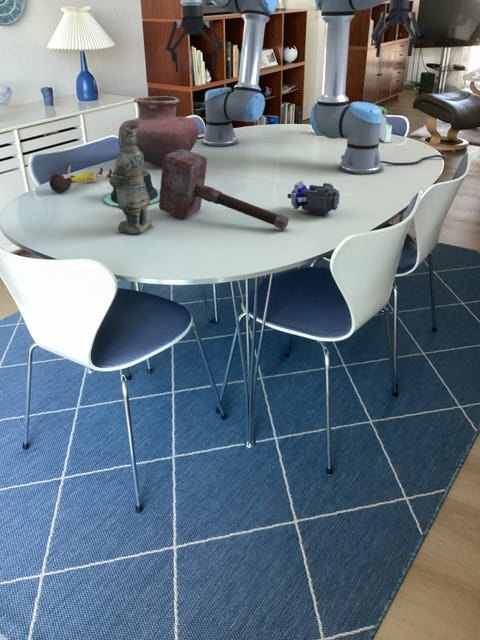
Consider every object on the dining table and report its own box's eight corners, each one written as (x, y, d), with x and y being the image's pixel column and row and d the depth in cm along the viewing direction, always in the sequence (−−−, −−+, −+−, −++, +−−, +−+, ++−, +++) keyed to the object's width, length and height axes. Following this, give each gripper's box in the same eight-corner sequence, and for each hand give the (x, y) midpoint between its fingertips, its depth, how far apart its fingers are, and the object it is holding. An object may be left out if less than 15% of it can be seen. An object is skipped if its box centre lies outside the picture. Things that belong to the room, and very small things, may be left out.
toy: (295, 178, 172) (342, 184, 166) (295, 205, 177) (340, 211, 171) (285, 186, 166) (333, 192, 160) (284, 213, 170) (331, 220, 164)
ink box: (383, 137, 256) (387, 105, 249) (390, 142, 248) (394, 109, 241) (376, 137, 256) (379, 105, 249) (383, 143, 247) (386, 109, 240)
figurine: (118, 166, 204) (64, 174, 185) (119, 186, 207) (65, 196, 188) (93, 161, 211) (38, 168, 191) (95, 181, 214) (40, 190, 195)
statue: (131, 220, 168) (117, 116, 152) (158, 224, 164) (147, 118, 149) (109, 233, 159) (93, 124, 144) (138, 237, 156) (124, 126, 140)
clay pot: (207, 155, 234) (203, 91, 222) (188, 175, 209) (184, 105, 196) (138, 153, 239) (131, 91, 226) (112, 172, 214) (103, 104, 201)
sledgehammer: (299, 190, 156) (179, 147, 167) (285, 200, 148) (161, 154, 160) (286, 244, 166) (174, 200, 177) (272, 256, 158) (156, 209, 170)
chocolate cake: (91, 202, 180) (113, 186, 197) (142, 231, 182) (160, 212, 199) (107, 162, 172) (129, 148, 190) (160, 192, 174) (177, 176, 192)
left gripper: (227, 3, 197) (228, 68, 207) (156, 5, 195) (162, 71, 206) (228, 3, 190) (230, 71, 201) (155, 5, 189) (160, 73, 200)
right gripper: (426, -3, 227) (419, 54, 238) (366, -1, 226) (362, 56, 237) (433, -3, 221) (425, 56, 232) (371, -1, 220) (366, 58, 230)
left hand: (195, 71), depth 204 cm, fingers open, 13 cm apart
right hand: (393, 56), depth 234 cm, fingers open, 13 cm apart
